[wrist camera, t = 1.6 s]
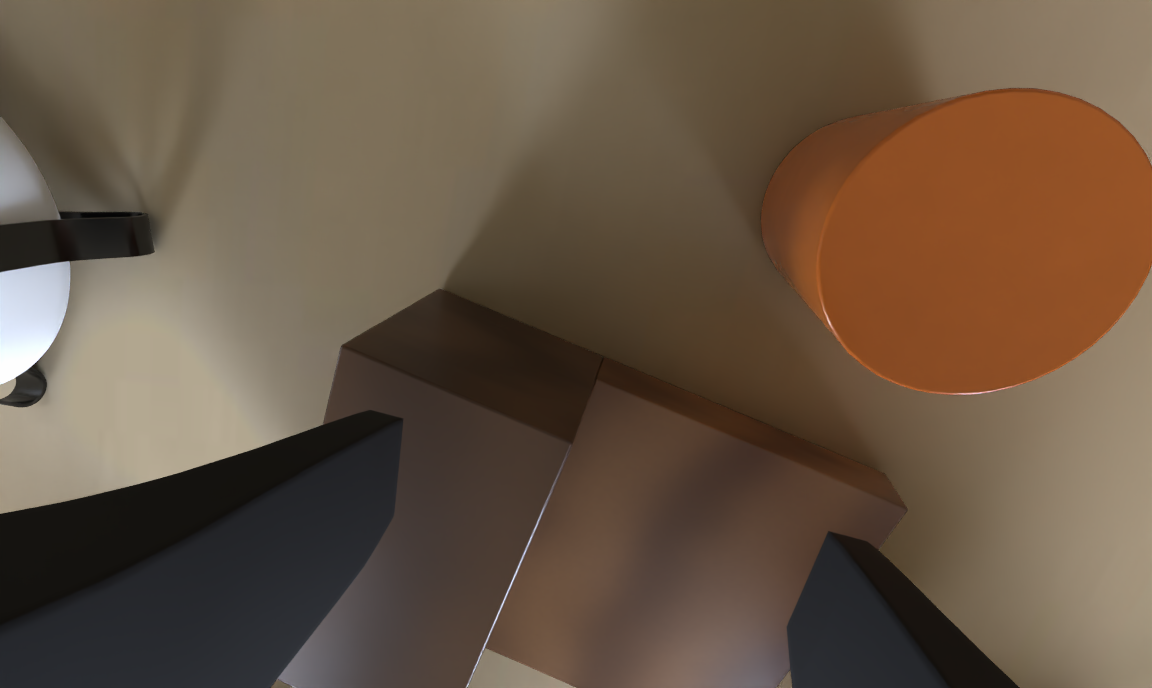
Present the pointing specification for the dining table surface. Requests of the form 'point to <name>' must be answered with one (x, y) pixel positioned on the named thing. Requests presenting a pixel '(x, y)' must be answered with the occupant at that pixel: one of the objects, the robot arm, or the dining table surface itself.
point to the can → (965, 235)
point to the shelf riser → (574, 517)
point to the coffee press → (45, 262)
